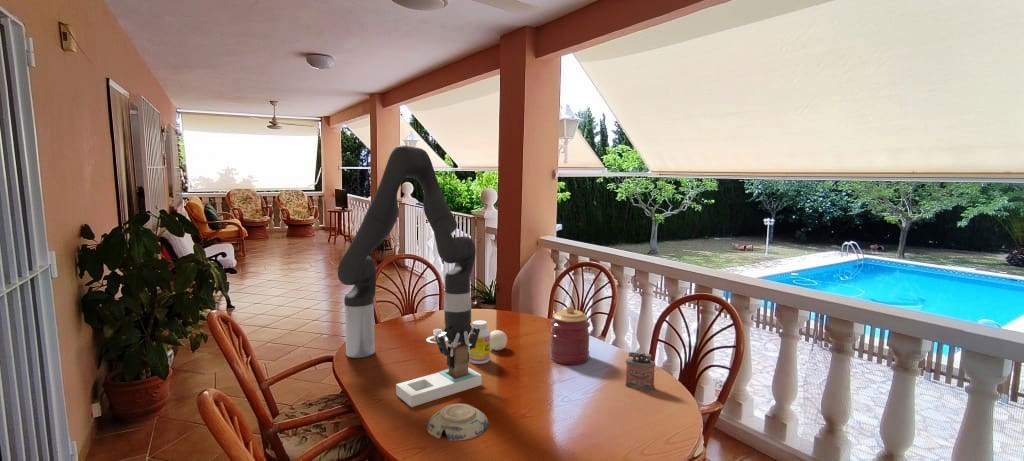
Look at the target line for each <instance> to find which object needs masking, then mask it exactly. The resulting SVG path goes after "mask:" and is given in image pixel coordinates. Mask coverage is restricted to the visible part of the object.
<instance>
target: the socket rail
mask: <svg viewBox="0 0 1024 461" xmlns="http://www.w3.org/2000/svg"><path fill="white" fill-rule="evenodd" d="M482 376H483V375H482V374H480V372H477V371H475V370H474V369H473V368H470V367H468V375H467V376H464V377H460V378H457V379H454V378H453V377H451V376H449V368H446V369H443V370H440V371H438V372H435V373H431V374H428V375H425V376H421V377H417V378H413V379H411V380H407V381H404V382H403V381H402V382H399V383H396V384H395V388H396V389H395V391H396V392H395V394H396V395H395V396H397V397H398V398H400V399H401V400H402V401H403V402H404V403H405V404H406V405H408V406H409V407H410V408H414V407H416V406H417V407H418V406H420V405H423V404H425V403H428V402H432V401H436V400H438V399H441V398H444V397H448V396H452V395H455V394H457V393H460V392H464V391H467V390H470V389H472V388H476V387H479V386H482V382H483V380H482Z"/></svg>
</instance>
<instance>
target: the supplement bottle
mask: <svg viewBox="0 0 1024 461" xmlns="http://www.w3.org/2000/svg"><path fill="white" fill-rule="evenodd" d="M471 324H472V325H471V327H473V326H474V327H476V328H479V329H480V331H479V335H478V339H477V343H476V346H475V348H474V349H473V348H472V349H471V350H470V352H469V362H470V363H472V364H474V365H482V364H483V365H484V364H487V363H489V361H490V359H491V358H490V356H491V354H490V353H491V351H490V350H491V348H490V333H491V332H490V330H489V329H487V327H488V323H487V321H486V320H479V319H478V320H474V321H471ZM469 337H470V333H469V335H468V338H469Z"/></svg>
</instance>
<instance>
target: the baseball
mask: <svg viewBox="0 0 1024 461" xmlns="http://www.w3.org/2000/svg"><path fill="white" fill-rule="evenodd" d="M507 343H508V336H507V335H506V333H505V332H504V331H502V330H499V329H497V330H496V329H495V330H492V331H491V332H490V350H491V349H492V350H493V351H501V350H504V348H505V347H506V345H507Z"/></svg>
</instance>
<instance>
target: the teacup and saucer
mask: <svg viewBox="0 0 1024 461" xmlns="http://www.w3.org/2000/svg"><path fill="white" fill-rule="evenodd" d="M432 333H433V335H432V336H428V337H427V338H426V342H428V343H429V344H437V341H436V338H435V336H436V335H440V334H442V333H444V331H443V330H442V329H441V328H434V329H433V330H432ZM431 339H433V340H434V341H431ZM445 340H446V341H445V342H447V340H448V338H447V337H445Z"/></svg>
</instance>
